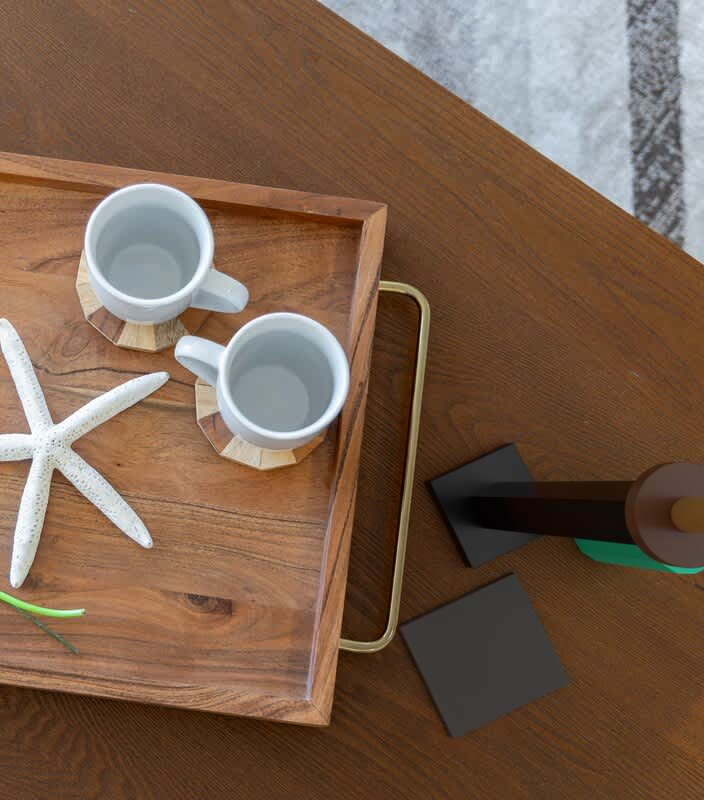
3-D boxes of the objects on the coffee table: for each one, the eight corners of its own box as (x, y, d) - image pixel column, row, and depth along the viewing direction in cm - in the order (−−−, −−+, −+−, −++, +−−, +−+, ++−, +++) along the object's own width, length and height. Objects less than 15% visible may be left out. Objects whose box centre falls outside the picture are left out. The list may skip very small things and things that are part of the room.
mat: (567, 681, 74) (570, 682, 74) (450, 737, 74) (453, 739, 73) (512, 571, 75) (516, 572, 74) (397, 626, 75) (399, 627, 74)
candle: (563, 551, 75) (650, 563, 63) (579, 483, 76) (669, 483, 64) (631, 571, 75) (731, 587, 63) (647, 504, 76) (750, 507, 64)
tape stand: (548, 528, 75) (857, 556, 45) (465, 567, 75) (719, 623, 44) (506, 443, 76) (781, 414, 45) (423, 481, 76) (644, 479, 45)
